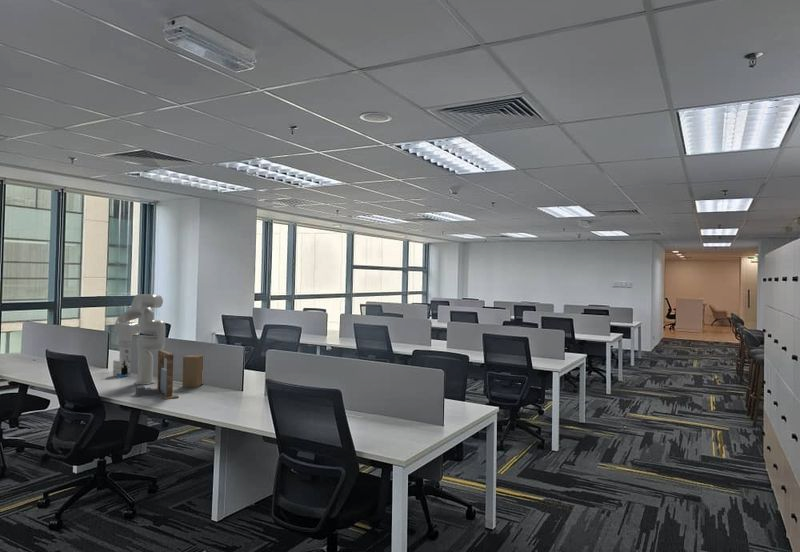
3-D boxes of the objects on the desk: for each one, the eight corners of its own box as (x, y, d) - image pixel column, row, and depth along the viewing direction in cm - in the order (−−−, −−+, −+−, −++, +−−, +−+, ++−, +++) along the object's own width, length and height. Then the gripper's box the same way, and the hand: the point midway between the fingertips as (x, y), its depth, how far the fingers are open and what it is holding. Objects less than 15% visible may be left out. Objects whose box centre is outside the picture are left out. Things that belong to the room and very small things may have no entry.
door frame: (151, 390, 344) (152, 349, 344) (164, 388, 348) (165, 348, 349) (164, 399, 319) (165, 355, 319) (178, 397, 324) (179, 354, 324)
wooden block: (203, 384, 364) (204, 355, 364) (196, 387, 354) (197, 357, 354) (189, 384, 365) (190, 354, 365) (182, 386, 355) (182, 356, 355)
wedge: (135, 394, 331) (135, 386, 331) (156, 392, 338) (156, 384, 338) (137, 396, 326) (137, 388, 326) (158, 393, 334) (158, 385, 334)
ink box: (130, 375, 390) (131, 359, 390) (119, 377, 383) (119, 361, 383) (124, 374, 394) (124, 358, 394) (112, 376, 387) (113, 359, 387)
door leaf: (160, 391, 340) (160, 367, 340) (163, 390, 342) (164, 367, 342) (167, 396, 326) (168, 371, 326) (171, 395, 328) (172, 371, 328)
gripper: (134, 344, 320) (133, 375, 320) (129, 342, 332) (128, 372, 332) (120, 345, 316) (119, 376, 315) (115, 343, 328) (115, 373, 327)
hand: (124, 374), depth 324 cm, fingers closed
